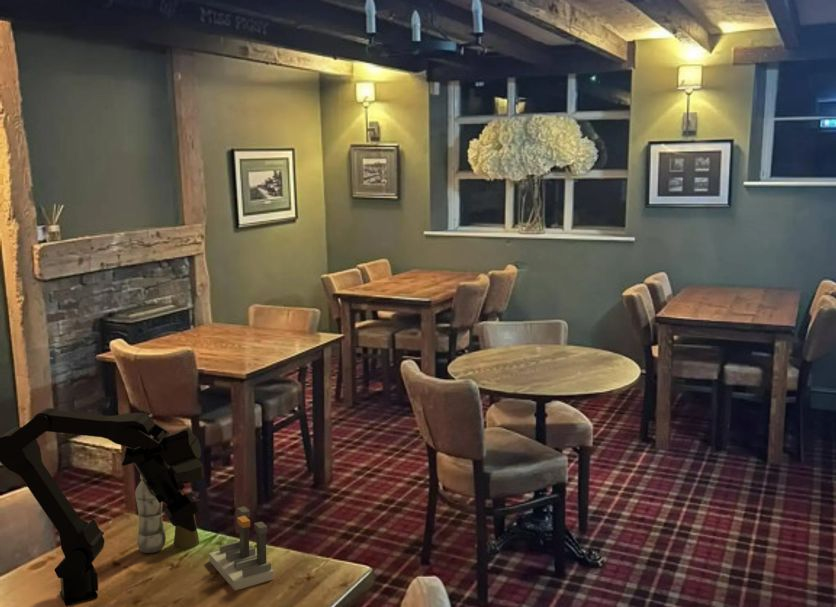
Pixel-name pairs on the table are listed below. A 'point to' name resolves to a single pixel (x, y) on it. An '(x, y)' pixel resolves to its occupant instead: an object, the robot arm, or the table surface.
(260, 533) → the right breaker handle
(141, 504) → the plastic bottle
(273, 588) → the table surface
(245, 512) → the handle
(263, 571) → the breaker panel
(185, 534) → the olive pepper mill
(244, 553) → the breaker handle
